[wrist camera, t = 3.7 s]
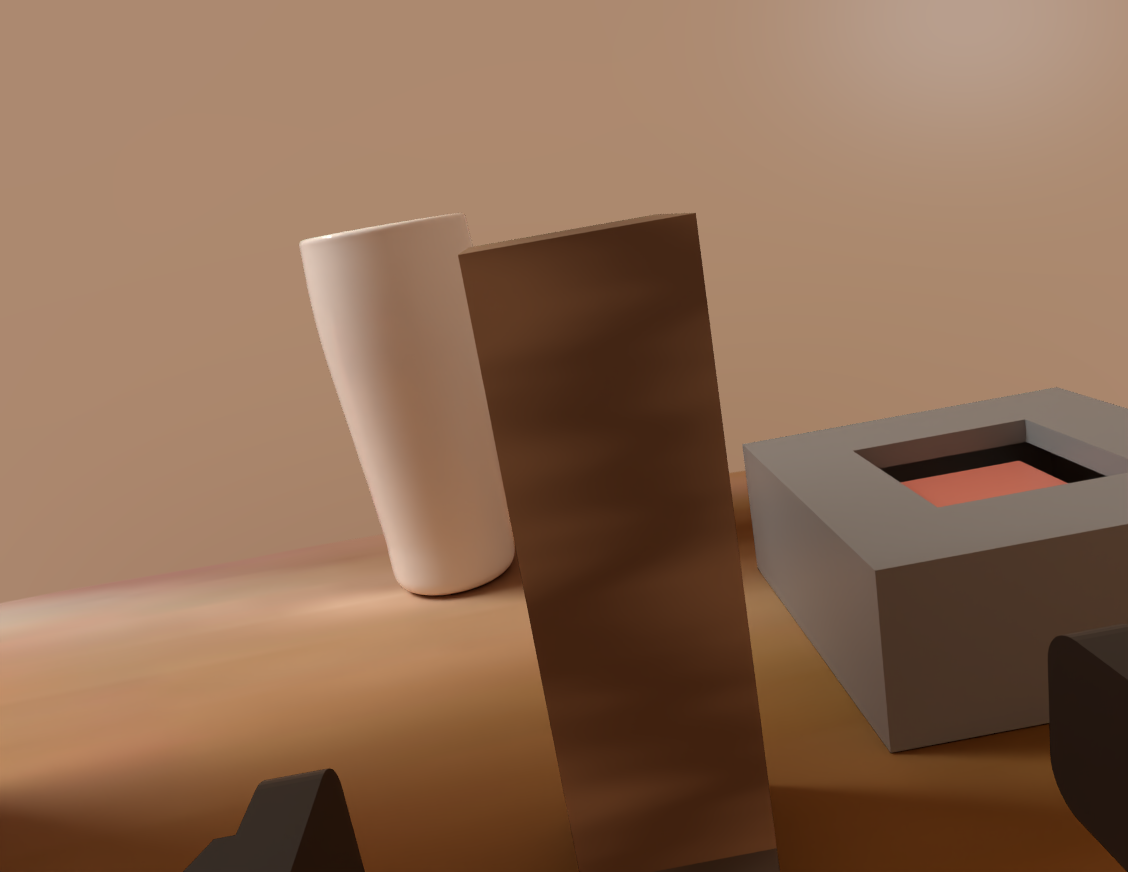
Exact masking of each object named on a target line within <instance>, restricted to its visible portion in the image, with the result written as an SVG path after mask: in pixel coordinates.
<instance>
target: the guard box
mask: <svg viewBox="0 0 1128 872" xmlns="http://www.w3.org/2000/svg"><path fill="white" fill-rule="evenodd" d="M743 452H744V461H745V469H746V478H747V486H748V494H749V502H750V510H751V519H752V527H753V535H754V543H755V551H756V559H757V568H758V569H759V571H760V572H761V573H762V575H763V576H764V578H765V579H766V580H767V582H768V583H769V585H770V586H771V587H772V589H773V590H774V591H775V593H776V594H777V596H778V597H779V598H780V600H781V601H782V603H783V604H784V605H785V607H786V608H787V610H788V611H789V612H790V614H791V615H792V616H793V618H794V619H795V621H796V622H797V623H798V625H799V626H800V628H801V629H802V630H803V632H804V633H805V635H806V636H807V637H808V639H809V640H810V641H811V643H812V644H813V646H814V647H815V648H816V650H817V651H818V653H819V654H820V655H821V657H822V658H823V660H824V661H825V662H826V664H827V665H828V666H829V668H830V669H831V671H832V672H833V673H834V675H835V676H836V678H837V679H838V680H839V682H840V683H841V685H842V686H843V687H844V689H845V690H846V691H847V693H848V694H849V696H850V697H851V698H852V700H853V701H854V703H855V704H856V705H857V707H858V708H859V710H860V711H861V712H862V714H863V715H864V716H865V718H866V719H867V721H868V722H869V723H870V725H871V726H872V728H873V729H874V730H875V732H876V733H877V735H878V736H879V737H880V739H881V740H882V741H883V743H884V744H885V746H886V747H887V748H888V750H889V751H890V753H892V752H898V751H903V750H908V749H913V748H919V747H924V746H929V745H935V744H940V743H945V742H950V741H956V740H961V739H966V738H972V737H977V736H982V735H987V734H993V733H998V732H1003V731H1009V730H1014V729H1019V728H1024V727H1030V726H1035V725H1040V724H1046V723H1049V690H1048V649H1049V646H1050V643H1051V641H1052V640H1053V639H1054V638H1055V637H1057V636H1060V635H1065V634H1070V633H1076V632H1081V631H1087V630H1092V629H1097V628H1103V627H1108V626H1114V625H1119V624H1128V409H1127V408H1124V407H1120V406H1117V405H1114V404H1110V403H1107V402H1104V401H1100V400H1097V399H1093V398H1090V397H1087V396H1084V395H1080V394H1077V393H1074V392H1071V391H1067V390H1064V389H1061V388H1057V387H1056V388H1050V389H1045V390H1039V391H1035V392H1029V393H1023V394H1018V395H1012V396H1007V397H1001V398H995V399H990V400H985V401H979V402H974V403H968V404H963V405H957V406H951V407H946V408H941V409H935V410H929V411H924V412H919V413H913V414H907V415H902V416H896V417H891V418H885V419H880V420H874V421H869V422H863V423H858V424H852V425H847V426H841V427H836V428H830V429H825V430H819V431H814V432H808V433H803V434H797V435H792V436H786V437H781V438H775V439H770V440H764V441H759V442H753V443H748V444H743ZM1015 461H1021V462H1023V463H1025V464H1028V465H1030V466H1032V467H1034V468H1036V469H1038V470H1040V471H1043V472H1045V473H1047V474H1049V475H1051V476H1053V477H1055V478H1057V479H1060V480H1062V481H1064V482H1066V483H1068V484H1063V485H1057V486H1052V487H1047V488H1041V489H1036V490H1030V491H1025V492H1019V493H1014V494H1008V495H1003V496H998V497H992V498H987V499H981V500H976V501H970V502H965V503H960V504H954V505H949V506H943V507H936V506H935V505H933V504H932V503H930V502H929V501H927V500H926V499H924V498H923V497H921V496H920V495H918V494H917V493H915V492H914V491H912V490H911V489H909V488H908V487H906V486H905V485H903V484H902V483H900V482H906V481H911V480H917V479H922V478H928V477H933V476H938V475H944V474H949V473H955V472H960V471H966V470H971V469H977V468H982V467H988V466H993V465H999V464H1004V463H1009V462H1015Z"/></svg>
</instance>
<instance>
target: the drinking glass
mask: <svg viewBox="0 0 1128 872" xmlns="http://www.w3.org/2000/svg"><path fill="white" fill-rule="evenodd" d="M299 247H300V251H301V257H302V262H303V268H304V273H305V278H306V283H307V289H308V293H309V298H310V303H311V307H312V311H313V315H314V319H315V323H316V327H317V331H318V335H319V338H320V342H321V345H322V348H323V352H324V355H325V358H326V362H327V365H328V368H329V371H330V374H331V377H332V380H333V383H334V386H335V389H336V392H337V395H338V398H339V401H340V404H341V407H342V410H343V413H344V416H345V419H346V422H347V425H348V428H349V431H350V434H351V436H352V439H353V442H354V445H355V448H356V451H357V454H358V457H359V460H360V463H361V466H362V469H363V472H364V476H365V478H366V481H367V485H368V488H369V490H370V494H371V497H372V500H373V502H374V506H375V509H376V512H377V515H378V518H379V521H380V524H381V528H382V531H383V534H384V537H385V540H386V544H387V548H388V552H389V557H390V561H391V565H392V569H393V573H394V576H395V578H396V580H397V582H398V583H399V584H400V586H401V587H403V588H404V589H406V590H407V591H410V592H412V593H416V594H421V595H447V594H453V593H458V592H463V591H467V590H470V589H473V588H476V587H479V586H481V585H484V584H486V583H488V582H490V581H492V580H493V579H495V578H497V577H498V576H500V575H501V574H502V573H503V572H505V571H506V570H507V568H508V567H509V566H510V564H511V563H512V561H513V558H514V554H515V546H514V540H513V535H512V530H511V525H510V519H509V514H508V507H507V502H506V497H505V492H504V486H503V481H502V476H501V471H500V466H499V461H498V456H497V451H496V446H495V441H494V436H493V431H492V426H491V420H490V415H489V410H488V405H487V400H486V395H485V390H484V385H483V380H482V375H481V370H480V365H479V359H478V354H477V349H476V344H475V339H474V334H473V329H472V324H471V319H470V314H469V309H468V304H467V299H466V293H465V288H464V283H463V278H462V273H461V268H460V263H459V258H458V254H460V253H461V252H463V251H464V250H466V249H467V248H469V247H473V245H472V240H471V236H470V233H469V229H468V225H467V220H466V217H465V214H463V213H455V214H449V215H441V216H434V217H428V218H422V219H416V220H410V221H404V222H398V223H392V224H386V225H381V226H375V227H369V228H363V229H358V230H352V231H346V232H341V233H336V234H330V235H325V236H320V237H315V238H310V239H305V240H302V241H301V242H300V243H299Z"/></svg>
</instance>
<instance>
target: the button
mask: <svg viewBox="0 0 1128 872" xmlns="http://www.w3.org/2000/svg"><path fill="white" fill-rule="evenodd" d="M900 483H902V484H903V485H905V486H906V487H908V488H909V489H911V490H912V491H914V492H915V493H917V494H918V495H920V496H921V497H923V498H924V499H926V500H927V501H929V502H930V503H932V504H933V505H935V506H936V507H943V506H949V505H954V504H960V503H965V502H970V501H976V500H981V499H987V498H992V497H998V496H1003V495H1008V494H1014V493H1019V492H1025V491H1030V490H1036V489H1041V488H1047V487H1052V486H1057V485H1063V484H1068V483H1066V482H1064V481H1062V480H1060V479H1057V478H1055V477H1053V476H1051V475H1049V474H1047V473H1045V472H1043V471H1040V470H1038V469H1036V468H1034V467H1032V466H1030V465H1028V464H1025V463H1023V462H1021V461H1015V462H1009V463H1004V464H999V465H993V466H988V467H982V468H977V469H971V470H966V471H960V472H955V473H949V474H944V475H938V476H933V477H928V478H922V479H917V480H911V481H906V482H900Z"/></svg>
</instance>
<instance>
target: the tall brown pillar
mask: <svg viewBox="0 0 1128 872" xmlns="http://www.w3.org/2000/svg"><path fill="white" fill-rule="evenodd" d="M458 258H459V263H460V268H461V273H462V278H463V283H464V288H465V293H466V299H467V304H468V309H469V314H470V319H471V324H472V329H473V334H474V339H475V344H476V349H477V354H478V359H479V365H480V370H481V375H482V380H483V385H484V390H485V395H486V400H487V405H488V410H489V415H490V420H491V426H492V431H493V436H494V441H495V446H496V451H497V456H498V461H499V466H500V471H501V476H502V481H503V486H504V492H505V497H506V502H507V507H508V512H509V517H510V522H511V527H512V532H513V537H514V542H515V547H516V553H517V558H518V563H519V568H520V573H521V578H522V583H523V588H524V593H525V598H526V603H527V608H528V613H529V619H530V624H531V629H532V634H533V639H534V644H535V649H536V654H537V659H538V664H539V669H540V674H541V680H542V685H543V690H544V695H545V700H546V705H547V710H548V715H549V720H550V725H551V730H552V735H553V740H554V746H555V751H556V756H557V761H558V766H559V771H560V776H561V781H562V786H563V791H564V796H565V801H566V807H567V812H568V817H569V822H570V827H571V832H572V837H573V842H574V847H575V852H576V857H577V862H578V867H579V872H780V869H779V861H778V853H777V845H776V838H775V830H774V822H773V814H772V806H771V799H770V791H769V783H768V775H767V767H766V760H765V752H764V744H763V736H762V728H761V720H760V713H759V705H758V697H757V689H756V681H755V674H754V666H753V658H752V650H751V642H750V634H749V627H748V619H747V611H746V603H745V595H744V588H743V580H742V572H741V564H740V556H739V548H738V541H737V533H736V525H735V517H734V509H733V502H732V494H731V486H730V478H729V471H728V462H727V455H726V447H725V439H724V431H723V423H722V416H721V409H720V400H719V392H718V384H717V377H716V369H715V361H714V353H713V345H712V337H711V330H710V322H709V314H708V306H707V298H706V291H705V283H704V275H703V267H702V259H701V251H700V244H699V236H698V228H697V220H696V213H683V214H660V215H659V214H658V215H651V216H645V217H639V218H634V219H628V220H622V221H617V222H611V223H606V224H600V225H594V226H588V227H583V228H577V229H571V230H565V231H560V232H554V233H548V234H543V235H537V236H532V237H526V238H520V239H514V240H509V241H503V242H498V243H492V244H486V245H481V246H475V247H469V248H467V249H466V250H464V251H463V252H461V253H460V254H458Z"/></svg>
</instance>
